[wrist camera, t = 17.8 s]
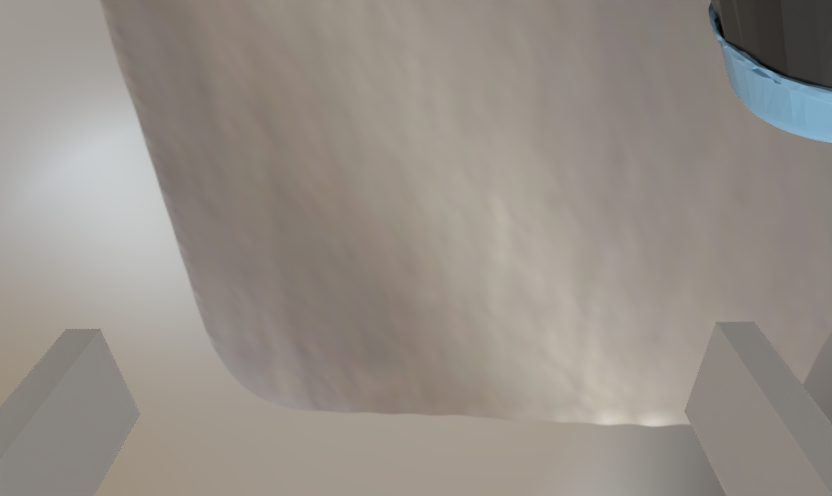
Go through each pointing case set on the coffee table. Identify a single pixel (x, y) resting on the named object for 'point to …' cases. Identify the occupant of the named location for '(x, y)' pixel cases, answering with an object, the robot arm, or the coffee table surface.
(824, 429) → the robot arm
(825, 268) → the coffee table surface
